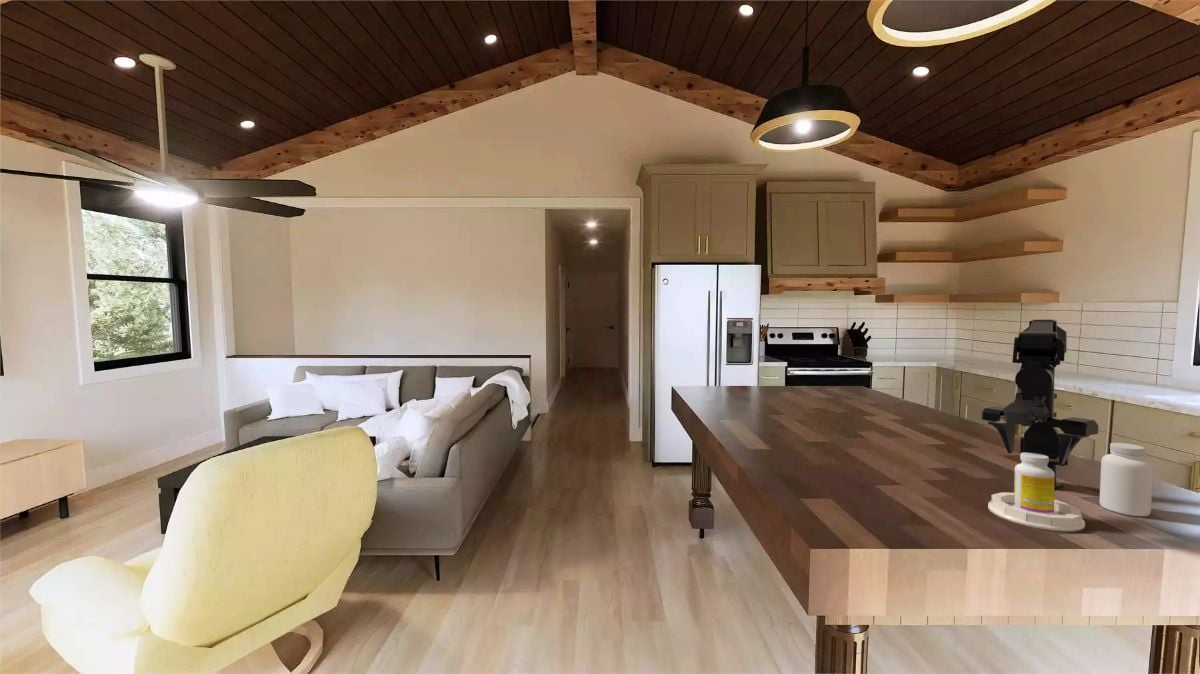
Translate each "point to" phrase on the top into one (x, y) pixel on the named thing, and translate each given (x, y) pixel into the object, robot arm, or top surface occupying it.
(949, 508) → the top surface
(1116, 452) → the pill bottle
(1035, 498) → the supplement bottle
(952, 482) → the top surface
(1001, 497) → the tray
